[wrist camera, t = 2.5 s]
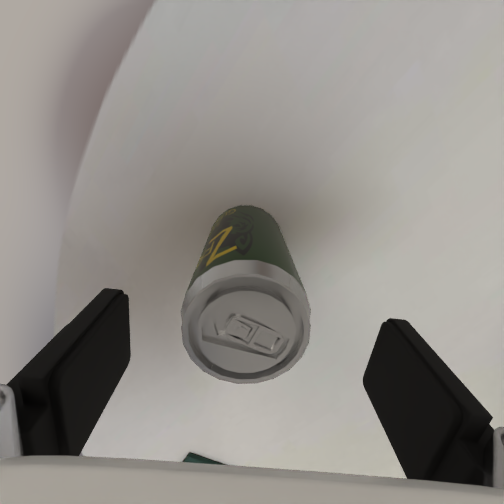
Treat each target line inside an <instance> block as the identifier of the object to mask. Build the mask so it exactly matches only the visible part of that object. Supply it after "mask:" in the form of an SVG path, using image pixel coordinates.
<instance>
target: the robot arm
mask: <svg viewBox="0 0 504 504" xmlns="http://www.w3.org/2000/svg"><path fill="white" fill-rule="evenodd" d="M130 354H131V353H130V325H129V298H128V295H126V294H124V292H123V291H122V290H118V289H109V288H105V289H103V290H102V291H101V292H100V293H99V294H98V295H97V296H96V297H95V298H94V299H93V300H92V301H91V302H90V303H89V304H88V305H87V306H86V307H85V308H84V309H83V310H82V311H81V312H80V313H79V314H78V315H77V316H76V317H75V318H74V319H73V320H72V321H71V322H70V323H69V324H68V325H66V326H65V327H64V328H63V329H62V330H61V331H60V332H59V333H58V334H57V335H56V336H55V337H54V338H53V339H52V340H51V341H50V342H49V343H48V344H47V345H46V346H45V347H44V348H43V349H42V350H41V351H40V352H39V353H38V354H37V355H36V356H35V357H34V358H33V359H32V360H31V361H30V362H29V363H28V364H27V365H26V366H25V367H24V368H23V369H22V370H21V371H20V372H19V373H18V374H17V375H16V376H15V377H14V378H13V379H12V380H11V381H10V382H9V383H8V384H7V385H5V384H0V504H504V427H499V428H497V429H495V430H494V429H493V428H492V427H491V426H490V425H489V423H490V422H491V420H492V418H493V417H492V416H491V415H490V414H489V412H488V411H487V410H486V409H485V408H484V407H483V406H482V405H481V403H480V402H479V401H478V400H477V399H476V398H475V397H474V396H473V394H472V393H471V392H470V391H469V390H468V389H467V388H466V387H465V385H464V384H463V383H462V382H461V381H460V380H459V379H458V378H457V376H456V375H455V374H454V373H453V372H452V371H451V370H450V368H449V367H448V366H447V365H446V364H445V363H444V362H443V361H442V359H441V358H440V357H439V356H438V355H437V354H436V353H435V352H434V350H433V349H432V348H431V347H430V346H429V345H428V344H427V343H426V341H425V340H424V339H423V338H422V337H421V336H420V335H419V334H418V332H417V331H416V330H415V329H414V328H413V327H412V326H411V325H410V323H409V322H408V321H406V320H401V319H392V318H390V319H388V320H387V321H386V322H383V323H382V325H381V328H380V331H379V334H378V337H377V339H376V342H375V345H374V348H373V351H372V354H371V356H370V359H369V362H368V365H367V368H366V370H365V373H364V376H363V385H364V388H365V390H366V392H367V394H368V396H369V398H370V401H371V403H372V405H373V407H374V409H375V411H376V413H377V415H378V418H379V420H380V422H381V424H382V426H383V428H384V430H385V432H386V435H387V437H388V439H389V441H390V443H391V445H392V447H393V449H394V452H395V454H396V456H397V458H398V460H399V462H400V464H401V466H402V468H403V471H404V473H405V475H406V477H407V479H403V478H391V477H378V476H366V475H353V474H340V473H327V472H314V471H300V470H287V469H273V468H259V467H246V466H232V465H217V464H203V463H188V462H173V461H158V460H143V459H127V458H107V457H86V456H79V454H80V453H81V451H82V449H83V447H84V445H85V443H86V442H87V440H88V438H89V436H90V434H91V432H92V431H93V429H94V427H95V425H96V423H97V421H98V420H99V418H100V416H101V414H102V412H103V410H104V409H105V407H106V405H107V403H108V401H109V399H110V397H111V396H112V394H113V392H114V390H115V388H116V386H117V385H118V383H119V381H120V379H121V377H122V375H123V374H124V372H125V370H126V368H127V366H128V364H129V361H130Z"/></svg>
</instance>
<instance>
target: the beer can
mask: <svg viewBox="0 0 504 504" xmlns="http://www.w3.org/2000/svg"><path fill="white" fill-rule="evenodd" d="M310 313H311V309H310V305H309V302H308V299H307V295H306V292H305V290H304V287H303V285H302V282H301V280H300V277H299V275H298V272H297V270H296V268H295V265H294V263H293V260H292V258H291V255H290V253H289V250H288V248H287V246H286V243H285V241H284V238H283V236H282V233H281V231H280V228H279V226H278V224H277V223H276V221H275V220H274V218H273V217H272V216H271V215H270V214H269V213H267V212H266V211H264V210H263V209H261V208H258V207H254V206H237V207H234V208H231V209H228V210H227V211H225V212H224V213H223V214H221V215H220V216H219V217H218V219H217V220H216V222H215V223H214V224H213V227H212V229H211V232H210V234H209V237H208V239H207V242H206V244H205V247H204V249H203V252H202V254H201V257H200V259H199V262H198V264H197V267H196V269H195V272H194V274H193V277H192V279H191V282H190V284H189V287H188V289H187V292H186V294H185V298H184V302H183V305H182V309H181V318H182V326H181V329H182V338H183V345H184V347H185V349H186V351H187V353H188V354H189V356H190V358H191V360H192V361H193V362H194V363H195V364H196V365H198V366H199V367H200V368H201V369H202V370H203V371H204V372H206V373H208V374H210V375H212V376H213V377H215V378H217V379H219V380H223V381H228V382H232V383H237V384H248V383H259V382H263V381H267V380H270V379H274V378H276V377H278V376H279V375H281V374H283V373H285V372H286V371H288V370H290V369H291V368H292V367H293V366H294V365H295V364H296V363H297V362H298V360H299V359H300V358H301V357H302V356H303V353H304V351H305V349H306V347H307V345H308V343H309V336H310Z"/></svg>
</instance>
